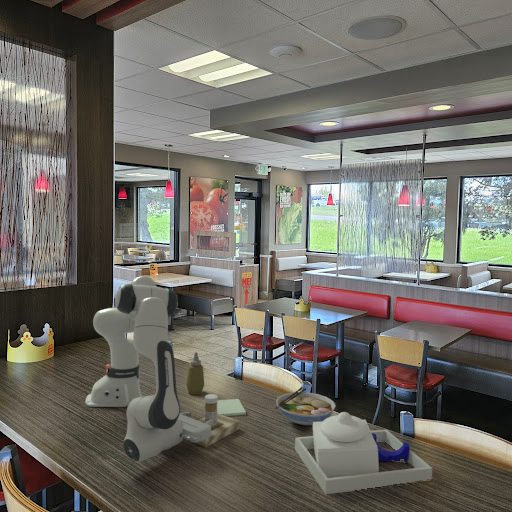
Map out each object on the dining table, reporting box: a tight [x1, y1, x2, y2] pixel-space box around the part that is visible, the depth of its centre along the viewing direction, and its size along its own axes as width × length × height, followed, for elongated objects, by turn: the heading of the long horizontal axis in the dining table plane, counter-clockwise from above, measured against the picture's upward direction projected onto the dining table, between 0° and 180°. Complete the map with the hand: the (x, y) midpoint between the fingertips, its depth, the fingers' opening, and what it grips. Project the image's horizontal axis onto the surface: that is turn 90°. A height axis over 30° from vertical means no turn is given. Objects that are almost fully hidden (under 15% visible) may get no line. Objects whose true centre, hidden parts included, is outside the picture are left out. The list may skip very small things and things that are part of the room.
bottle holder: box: [193, 413, 240, 448], centre depth 160 cm, size 18×12×3 cm, turn 144°
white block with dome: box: [312, 411, 380, 478], centre depth 141 cm, size 18×18×16 cm
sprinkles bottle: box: [204, 393, 219, 431], centre depth 160 cm, size 5×5×14 cm
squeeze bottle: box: [185, 351, 205, 395], centre depth 198 cm, size 8×8×18 cm
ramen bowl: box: [274, 386, 336, 426], centre depth 172 cm, size 25×23×8 cm
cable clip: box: [372, 433, 411, 463], centre depth 145 cm, size 12×4×6 cm, turn 79°
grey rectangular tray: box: [294, 429, 433, 495], centre depth 142 cm, size 34×26×4 cm
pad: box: [217, 398, 247, 417], centre depth 182 cm, size 14×14×1 cm
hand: (199, 417), depth 156 cm, fingers open, 8 cm apart
